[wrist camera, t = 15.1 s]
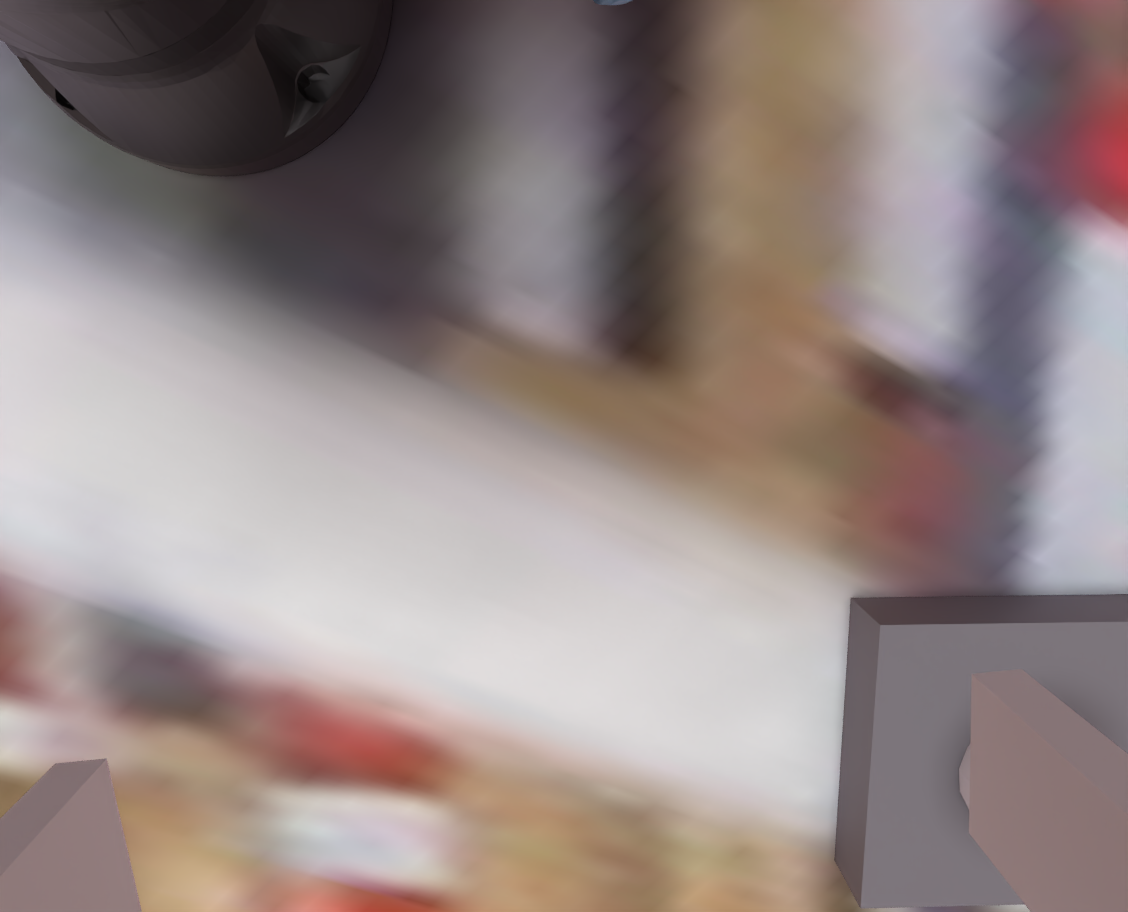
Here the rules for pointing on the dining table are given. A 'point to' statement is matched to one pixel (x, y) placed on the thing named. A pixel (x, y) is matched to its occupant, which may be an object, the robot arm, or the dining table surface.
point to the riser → (953, 728)
